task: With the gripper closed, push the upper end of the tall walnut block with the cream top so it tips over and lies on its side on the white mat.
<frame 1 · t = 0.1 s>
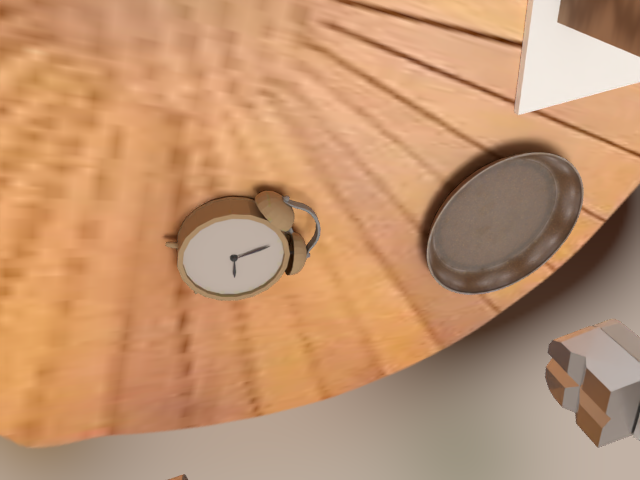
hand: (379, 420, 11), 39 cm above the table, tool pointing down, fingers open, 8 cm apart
alarm clock: (245, 232, 56), on the table
plant saucer: (491, 215, 66), on the table
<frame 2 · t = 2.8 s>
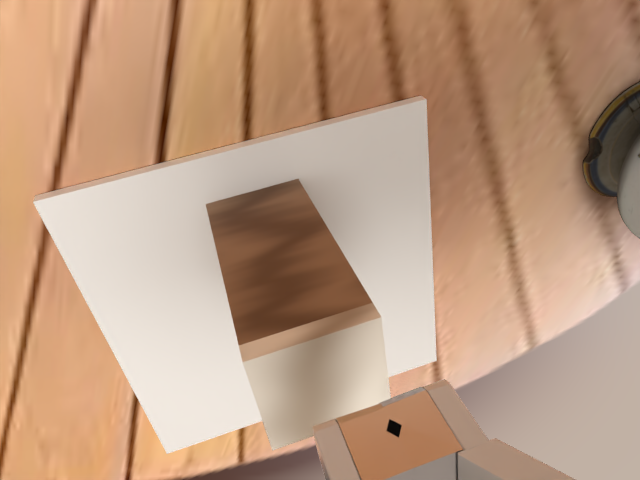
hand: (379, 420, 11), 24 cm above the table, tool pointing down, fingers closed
apothecary jar: (635, 138, 41), on the table
white mat: (277, 292, 39), on the table
walnut block: (262, 230, 35), point 1 cm above the table, touching white mat
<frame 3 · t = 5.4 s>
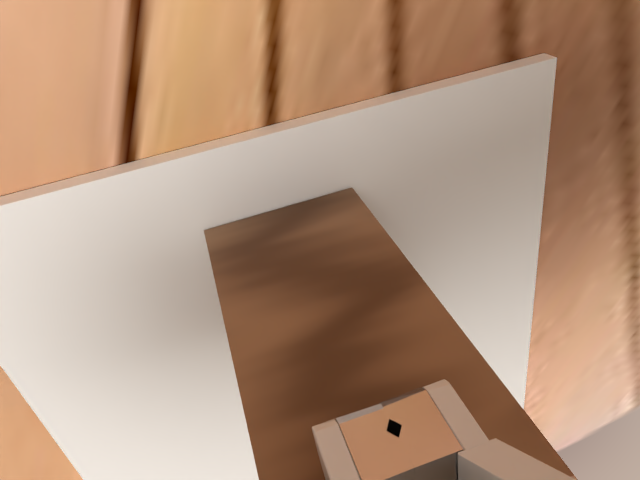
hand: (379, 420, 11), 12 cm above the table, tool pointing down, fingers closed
white mat: (311, 353, 26), on the table
walnut block: (293, 268, 22), point 1 cm above the table, touching white mat, gripper
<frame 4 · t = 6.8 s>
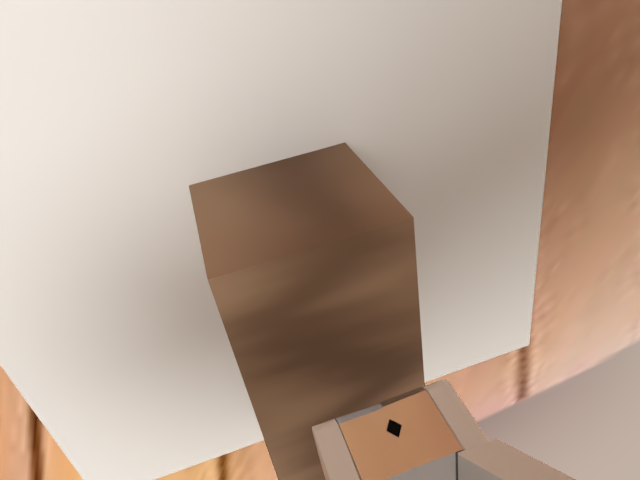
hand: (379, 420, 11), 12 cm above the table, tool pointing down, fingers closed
white mat: (279, 220, 22), on the table
walnut block: (288, 199, 17), point 4 cm above the table, tilted 90°, touching white mat
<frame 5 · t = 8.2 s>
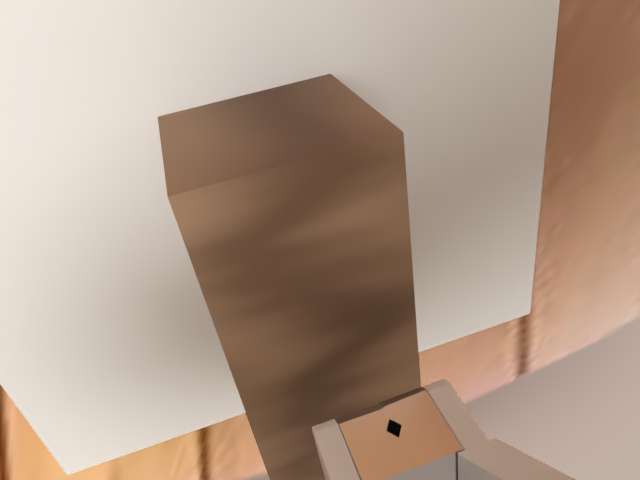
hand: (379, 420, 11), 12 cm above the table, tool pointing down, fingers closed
white mat: (260, 164, 20), on the table
walnut block: (264, 123, 15), point 4 cm above the table, tilted 90°, touching white mat
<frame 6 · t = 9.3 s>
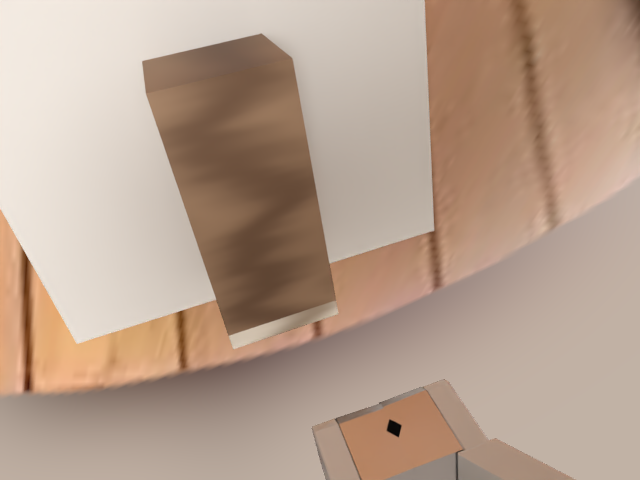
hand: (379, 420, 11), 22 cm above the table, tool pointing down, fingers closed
white mat: (216, 100, 28), on the table
walnut block: (211, 59, 24), point 4 cm above the table, tilted 90°, touching white mat
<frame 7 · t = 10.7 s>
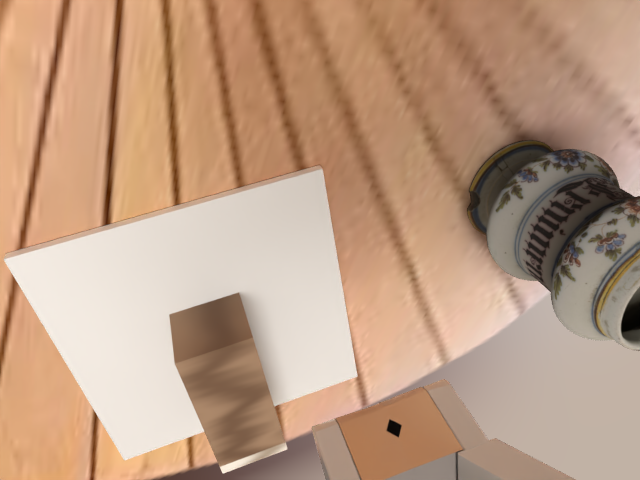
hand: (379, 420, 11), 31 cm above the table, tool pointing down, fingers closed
apothecary jar: (511, 189, 50), on the table
white mat: (212, 323, 47), on the table
walnut block: (209, 325, 42), point 4 cm above the table, tilted 90°, touching white mat
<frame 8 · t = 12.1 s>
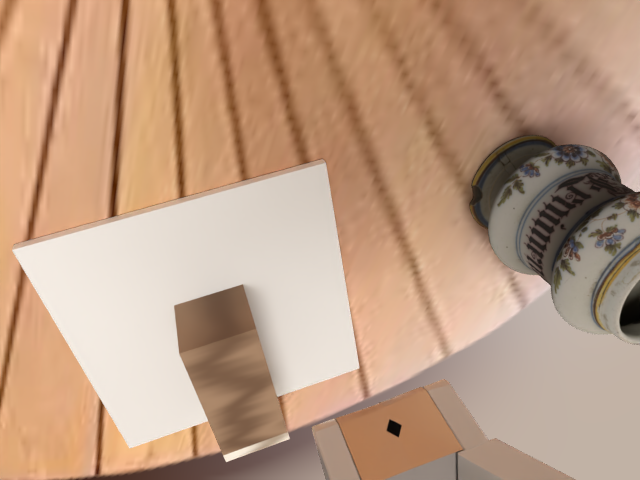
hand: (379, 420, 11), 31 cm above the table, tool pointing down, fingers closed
apothecary jar: (513, 184, 50), on the table
white mat: (216, 314, 47), on the table
walnut block: (213, 316, 43), point 4 cm above the table, tilted 90°, touching white mat
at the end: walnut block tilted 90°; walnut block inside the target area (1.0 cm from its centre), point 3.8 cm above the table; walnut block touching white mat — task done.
